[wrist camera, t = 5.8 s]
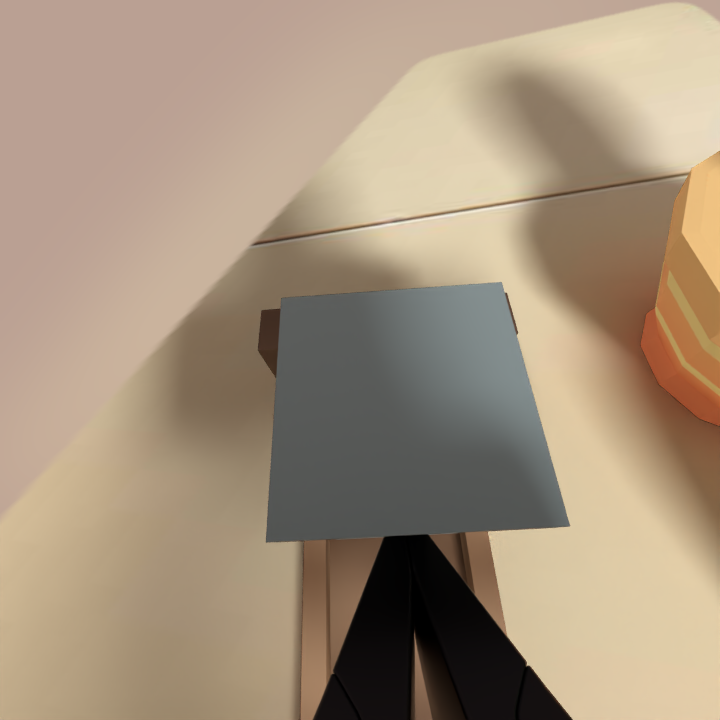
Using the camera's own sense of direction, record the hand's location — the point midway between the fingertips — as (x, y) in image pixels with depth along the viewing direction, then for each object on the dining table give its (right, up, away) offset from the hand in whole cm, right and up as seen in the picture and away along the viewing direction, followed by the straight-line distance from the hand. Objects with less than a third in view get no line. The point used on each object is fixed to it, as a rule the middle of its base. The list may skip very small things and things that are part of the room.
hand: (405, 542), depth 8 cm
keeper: (0, -1, +9) cm, 9 cm away
